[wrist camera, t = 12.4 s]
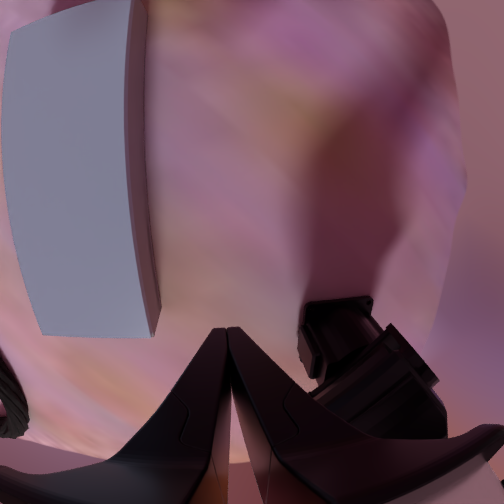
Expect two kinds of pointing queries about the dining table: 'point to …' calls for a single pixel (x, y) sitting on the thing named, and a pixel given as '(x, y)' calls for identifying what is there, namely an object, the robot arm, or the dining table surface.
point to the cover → (74, 171)
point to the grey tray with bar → (140, 161)
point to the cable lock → (12, 406)
